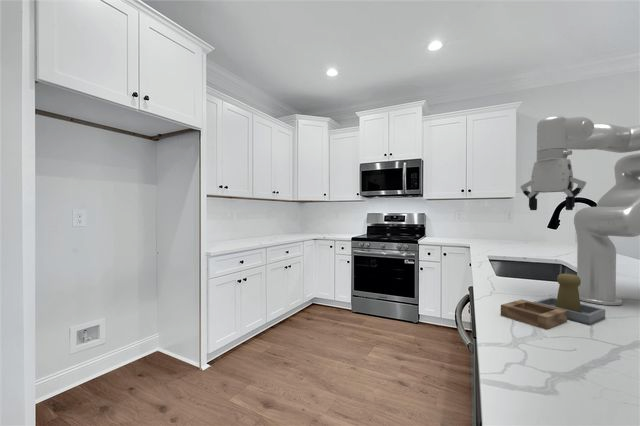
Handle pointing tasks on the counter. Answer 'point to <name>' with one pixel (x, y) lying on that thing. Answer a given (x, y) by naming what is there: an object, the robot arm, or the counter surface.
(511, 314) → the socket block
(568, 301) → the cork
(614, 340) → the counter surface
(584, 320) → the tray
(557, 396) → the counter surface
